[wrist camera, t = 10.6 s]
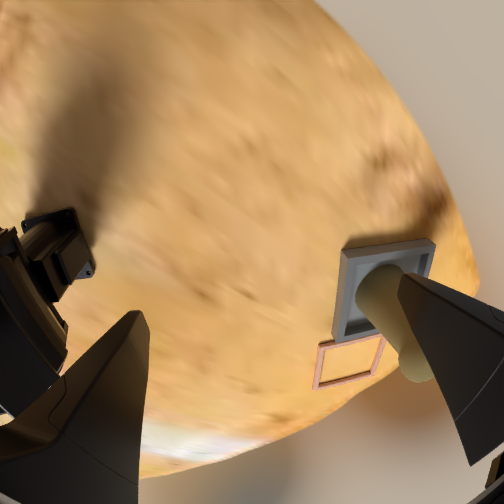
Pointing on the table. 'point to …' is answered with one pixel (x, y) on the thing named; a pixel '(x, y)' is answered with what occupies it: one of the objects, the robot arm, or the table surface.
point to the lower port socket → (358, 266)
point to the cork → (392, 319)
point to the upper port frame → (335, 345)
